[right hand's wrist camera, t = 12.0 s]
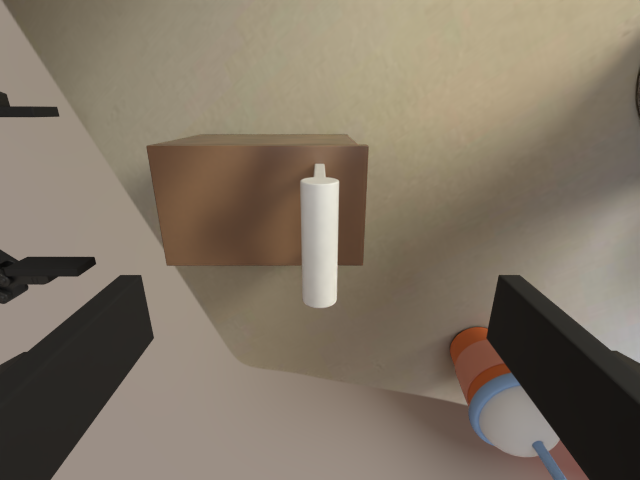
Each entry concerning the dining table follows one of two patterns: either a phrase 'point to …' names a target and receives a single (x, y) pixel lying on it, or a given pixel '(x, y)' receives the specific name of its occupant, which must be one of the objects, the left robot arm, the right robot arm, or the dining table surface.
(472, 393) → the cup with straw
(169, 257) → the lid
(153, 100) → the dining table surface
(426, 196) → the dining table surface
